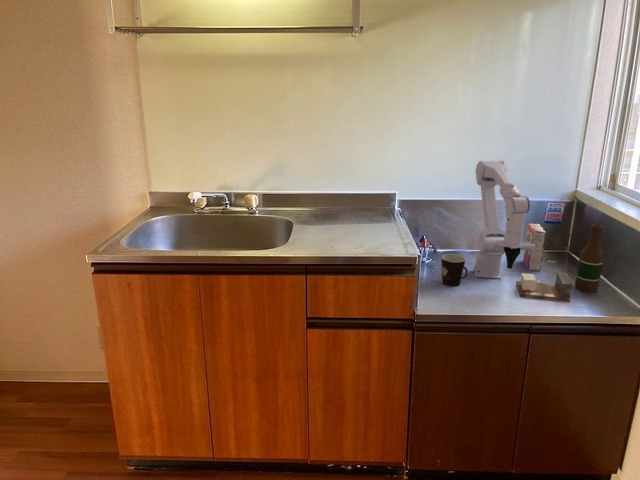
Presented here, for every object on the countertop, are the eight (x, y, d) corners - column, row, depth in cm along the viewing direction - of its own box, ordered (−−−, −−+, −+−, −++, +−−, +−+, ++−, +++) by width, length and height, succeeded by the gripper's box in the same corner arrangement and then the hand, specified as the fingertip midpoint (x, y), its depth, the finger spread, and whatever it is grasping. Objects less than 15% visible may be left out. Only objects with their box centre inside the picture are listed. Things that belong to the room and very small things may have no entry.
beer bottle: (578, 282, 183) (589, 220, 175) (601, 288, 177) (613, 225, 170) (570, 288, 177) (581, 225, 170) (593, 294, 172) (606, 229, 165)
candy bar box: (522, 260, 204) (527, 223, 199) (534, 261, 203) (540, 223, 198) (527, 270, 194) (533, 231, 189) (540, 271, 193) (546, 231, 188)
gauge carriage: (523, 293, 170) (525, 282, 169) (520, 283, 178) (521, 273, 177) (542, 295, 168) (543, 284, 167) (538, 285, 176) (539, 274, 175)
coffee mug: (437, 278, 186) (439, 253, 183) (459, 278, 186) (462, 254, 183) (443, 291, 175) (445, 265, 172) (467, 291, 175) (470, 265, 172)
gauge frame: (519, 297, 170) (522, 280, 168) (516, 283, 181) (518, 268, 179) (570, 302, 167) (572, 285, 165) (563, 288, 178) (565, 272, 176)
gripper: (492, 232, 167) (488, 269, 171) (538, 235, 164) (533, 273, 168) (491, 227, 174) (487, 262, 178) (535, 230, 170) (530, 266, 174)
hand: (509, 267), depth 173 cm, fingers closed
